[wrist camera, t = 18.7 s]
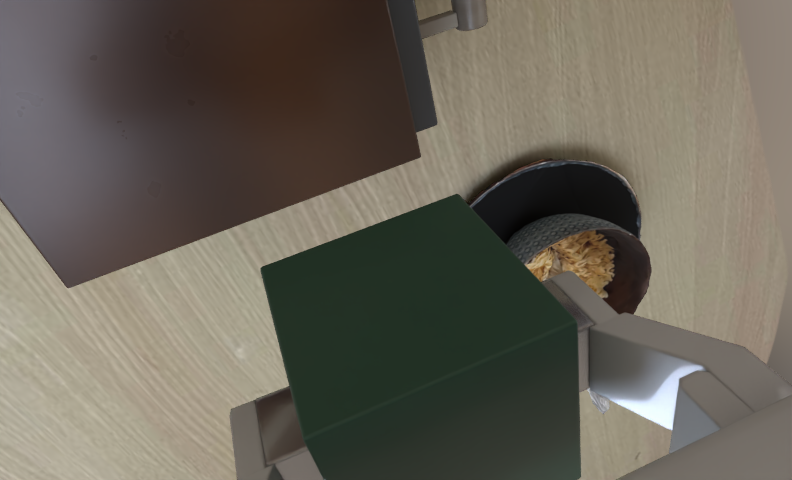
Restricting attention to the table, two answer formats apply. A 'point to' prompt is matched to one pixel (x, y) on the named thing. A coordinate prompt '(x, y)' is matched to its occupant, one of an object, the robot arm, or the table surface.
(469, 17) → the drawer
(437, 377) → the block
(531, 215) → the soup bowl
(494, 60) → the table surface
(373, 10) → the cabinet
